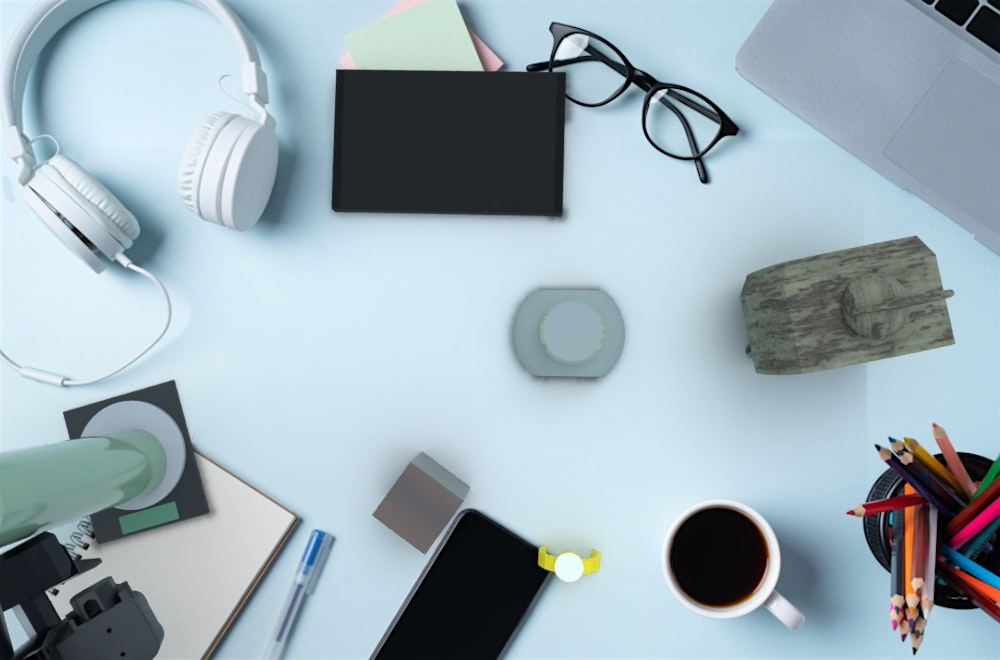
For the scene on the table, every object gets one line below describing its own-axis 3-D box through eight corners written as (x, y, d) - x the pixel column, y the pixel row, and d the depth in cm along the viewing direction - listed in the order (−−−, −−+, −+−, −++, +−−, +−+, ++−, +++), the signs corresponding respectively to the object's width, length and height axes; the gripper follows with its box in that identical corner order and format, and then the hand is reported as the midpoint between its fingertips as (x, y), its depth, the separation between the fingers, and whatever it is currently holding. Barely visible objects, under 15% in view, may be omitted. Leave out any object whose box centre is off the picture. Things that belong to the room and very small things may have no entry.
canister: (180, 456, 79) (8, 506, 53) (138, 512, 79) (-55, 589, 53) (127, 414, 79) (-71, 443, 53) (85, 469, 79) (-133, 525, 53)
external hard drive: (343, 78, 82) (336, 68, 79) (565, 81, 81) (566, 71, 78) (338, 214, 81) (331, 208, 78) (562, 218, 80) (563, 213, 77)
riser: (436, 532, 80) (424, 554, 71) (389, 497, 80) (371, 515, 71) (471, 484, 80) (463, 501, 71) (424, 449, 80) (410, 461, 71)
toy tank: (733, 372, 79) (826, 379, 54) (715, 284, 79) (799, 251, 54) (876, 344, 78) (1036, 338, 54) (857, 256, 79) (1007, 209, 54)
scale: (215, 509, 81) (206, 514, 78) (105, 541, 81) (93, 546, 79) (180, 379, 81) (170, 379, 79) (71, 410, 82) (58, 412, 79)
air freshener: (621, 294, 80) (634, 285, 70) (620, 375, 79) (633, 378, 69) (514, 293, 80) (512, 284, 70) (513, 374, 80) (510, 376, 70)
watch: (598, 539, 79) (603, 555, 73) (596, 567, 79) (602, 584, 73) (539, 535, 79) (539, 550, 73) (537, 563, 79) (537, 580, 73)
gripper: (179, 774, 53) (254, 659, 69) (42, 536, 52) (150, 473, 67) (38, 843, 54) (144, 713, 69) (-101, 609, 52) (39, 530, 68)
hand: (123, 607), depth 68 cm, fingers open, 9 cm apart
